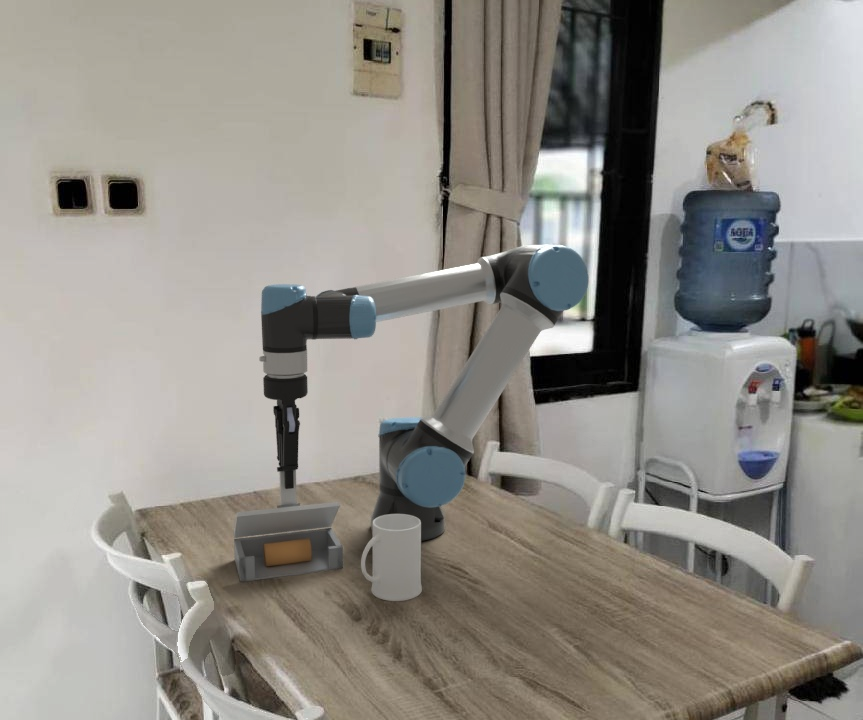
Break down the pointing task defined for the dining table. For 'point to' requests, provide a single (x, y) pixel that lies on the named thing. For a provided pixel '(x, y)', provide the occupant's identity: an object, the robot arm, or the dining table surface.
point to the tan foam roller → (287, 552)
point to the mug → (395, 557)
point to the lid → (285, 519)
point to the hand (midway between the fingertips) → (288, 503)
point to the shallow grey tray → (323, 558)
